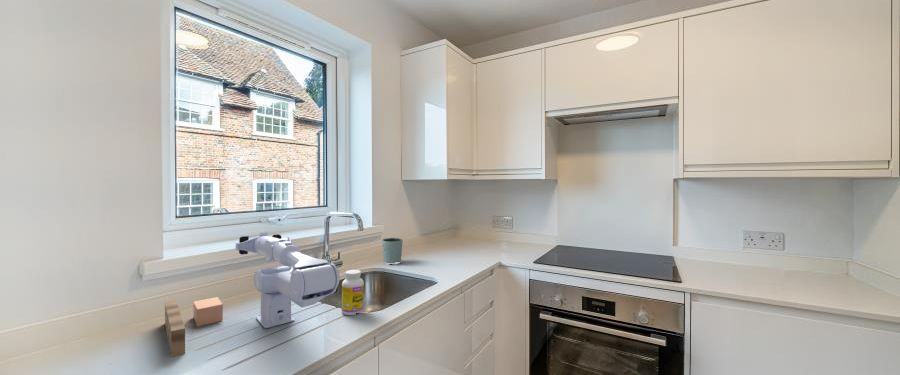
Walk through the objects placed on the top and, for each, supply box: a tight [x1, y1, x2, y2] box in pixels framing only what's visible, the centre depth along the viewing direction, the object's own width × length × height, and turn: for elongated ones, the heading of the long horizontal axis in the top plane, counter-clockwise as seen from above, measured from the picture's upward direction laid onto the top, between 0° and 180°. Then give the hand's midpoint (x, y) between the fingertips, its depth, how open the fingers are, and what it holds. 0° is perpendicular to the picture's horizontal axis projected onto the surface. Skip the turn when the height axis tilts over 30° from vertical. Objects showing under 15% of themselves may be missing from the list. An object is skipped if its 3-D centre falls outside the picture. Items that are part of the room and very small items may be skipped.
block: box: [192, 296, 224, 327], centre depth 99 cm, size 8×6×5 cm
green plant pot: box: [381, 237, 404, 263], centre depth 168 cm, size 10×10×12 cm
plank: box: [164, 300, 186, 358], centre depth 87 cm, size 24×2×6 cm, turn 43°
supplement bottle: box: [341, 269, 365, 316], centre depth 105 cm, size 7×7×13 cm
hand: (254, 242), depth 112 cm, fingers open, 7 cm apart
